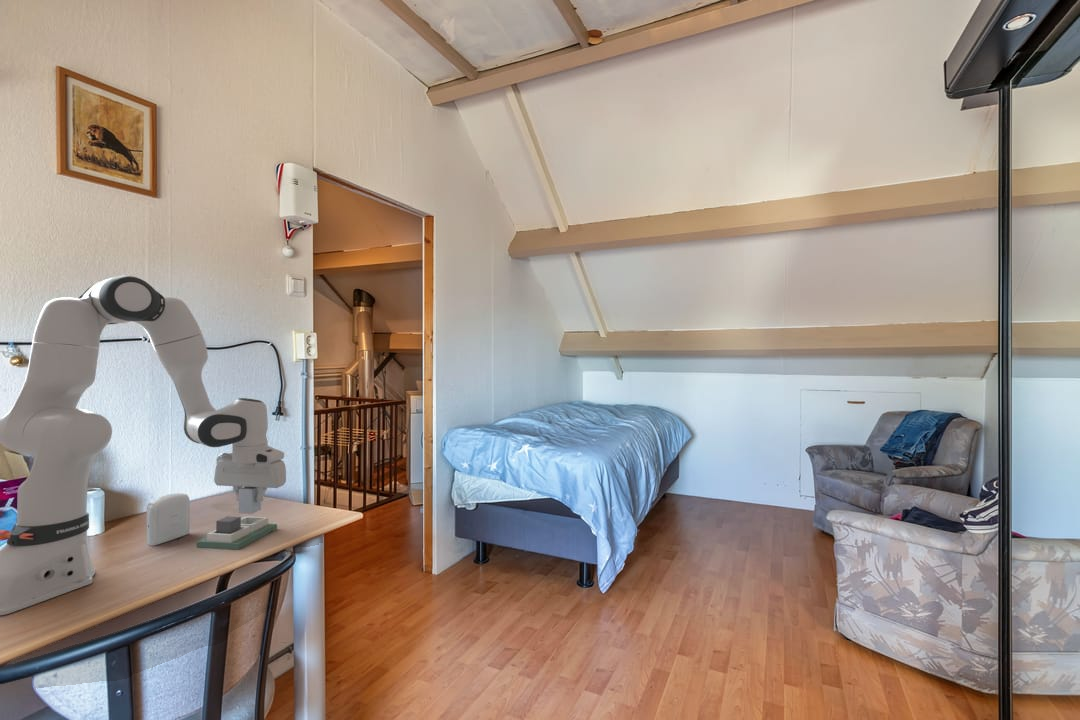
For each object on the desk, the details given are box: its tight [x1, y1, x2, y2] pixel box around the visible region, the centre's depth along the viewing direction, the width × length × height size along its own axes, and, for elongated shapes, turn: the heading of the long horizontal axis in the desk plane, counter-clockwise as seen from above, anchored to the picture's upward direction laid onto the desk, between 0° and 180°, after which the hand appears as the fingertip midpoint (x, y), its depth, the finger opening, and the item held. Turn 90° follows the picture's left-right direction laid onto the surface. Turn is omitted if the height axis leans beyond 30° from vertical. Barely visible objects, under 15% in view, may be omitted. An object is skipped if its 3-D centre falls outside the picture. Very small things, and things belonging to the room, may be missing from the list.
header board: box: [196, 515, 278, 551], centre depth 138 cm, size 16×12×6 cm
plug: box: [238, 487, 262, 515], centre depth 142 cm, size 4×4×8 cm
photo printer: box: [146, 492, 191, 547], centre depth 136 cm, size 10×4×12 cm, turn 162°
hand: (249, 501), depth 142 cm, fingers closed on plug, 4 cm apart
